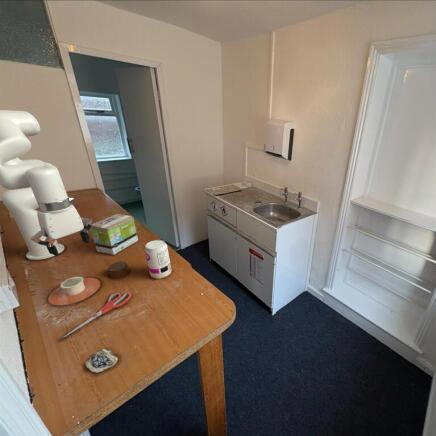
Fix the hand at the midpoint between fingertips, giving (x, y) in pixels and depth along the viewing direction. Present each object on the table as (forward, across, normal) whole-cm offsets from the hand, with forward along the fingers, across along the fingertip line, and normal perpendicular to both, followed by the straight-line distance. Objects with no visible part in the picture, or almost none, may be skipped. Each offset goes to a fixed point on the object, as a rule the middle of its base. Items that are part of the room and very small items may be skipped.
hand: (71, 248), depth 85 cm
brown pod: (+18, -10, +4) cm, 21 cm away
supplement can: (+18, -18, +19) cm, 32 cm away
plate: (+18, +4, 0) cm, 18 cm away
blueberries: (+18, +17, +37) cm, 44 cm away
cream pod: (+17, +4, 0) cm, 17 cm away
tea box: (+18, -25, -17) cm, 35 cm away
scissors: (+18, +7, +20) cm, 28 cm away
